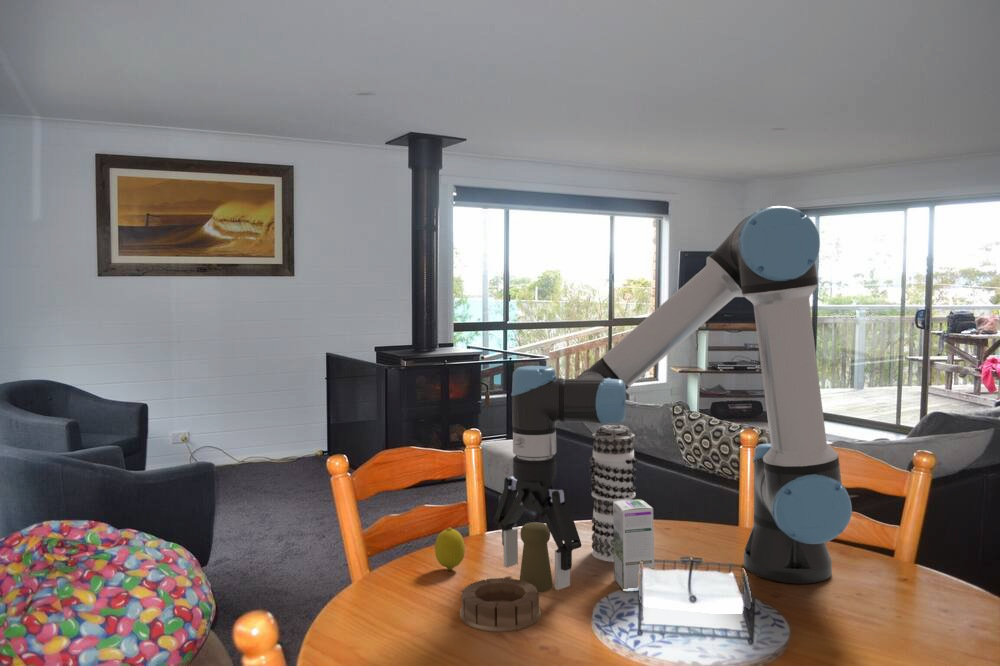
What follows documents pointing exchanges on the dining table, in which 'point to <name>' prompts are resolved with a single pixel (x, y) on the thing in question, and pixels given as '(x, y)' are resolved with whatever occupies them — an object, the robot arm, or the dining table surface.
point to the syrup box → (632, 540)
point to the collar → (500, 605)
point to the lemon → (449, 548)
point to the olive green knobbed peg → (536, 556)
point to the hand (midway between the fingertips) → (535, 576)
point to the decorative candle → (610, 483)
